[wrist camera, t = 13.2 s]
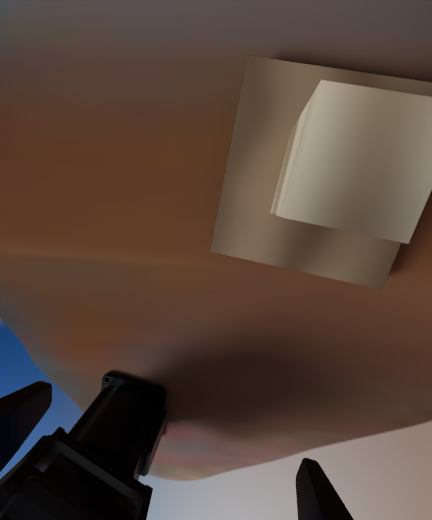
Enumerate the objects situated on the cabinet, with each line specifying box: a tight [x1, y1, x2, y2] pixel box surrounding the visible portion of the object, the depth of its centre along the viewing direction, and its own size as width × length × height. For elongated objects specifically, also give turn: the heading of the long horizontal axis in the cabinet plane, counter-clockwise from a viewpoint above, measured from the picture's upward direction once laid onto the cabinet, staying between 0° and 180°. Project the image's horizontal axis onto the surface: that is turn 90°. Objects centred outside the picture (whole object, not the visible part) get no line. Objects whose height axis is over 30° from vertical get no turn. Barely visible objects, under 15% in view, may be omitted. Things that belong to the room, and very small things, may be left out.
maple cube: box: [270, 80, 432, 244], centre depth 12 cm, size 5×5×6 cm
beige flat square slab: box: [210, 56, 432, 290], centre depth 15 cm, size 12×12×2 cm
